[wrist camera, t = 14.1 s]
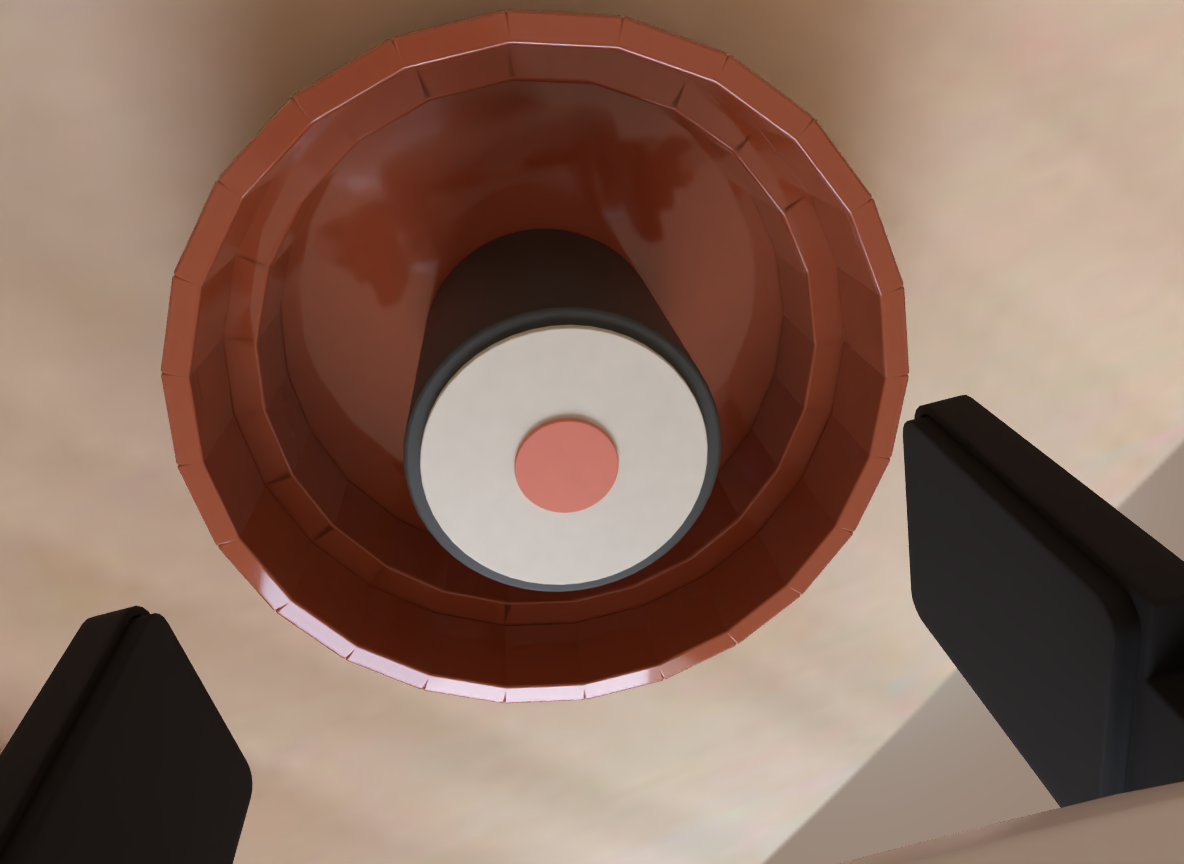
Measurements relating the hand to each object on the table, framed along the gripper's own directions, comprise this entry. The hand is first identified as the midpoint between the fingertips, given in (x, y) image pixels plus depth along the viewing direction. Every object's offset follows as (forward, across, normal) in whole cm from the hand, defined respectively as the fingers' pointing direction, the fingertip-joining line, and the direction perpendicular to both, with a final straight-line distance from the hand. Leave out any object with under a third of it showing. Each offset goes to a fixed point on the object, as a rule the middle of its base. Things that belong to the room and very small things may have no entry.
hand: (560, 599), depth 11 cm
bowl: (+11, 0, +1) cm, 11 cm away
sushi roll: (+10, 0, +1) cm, 11 cm away
